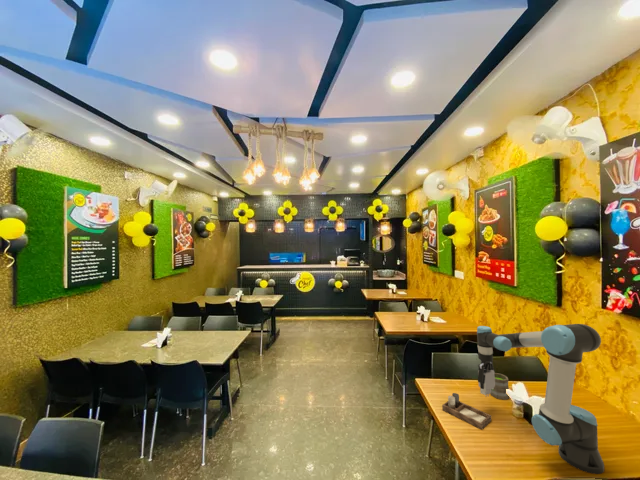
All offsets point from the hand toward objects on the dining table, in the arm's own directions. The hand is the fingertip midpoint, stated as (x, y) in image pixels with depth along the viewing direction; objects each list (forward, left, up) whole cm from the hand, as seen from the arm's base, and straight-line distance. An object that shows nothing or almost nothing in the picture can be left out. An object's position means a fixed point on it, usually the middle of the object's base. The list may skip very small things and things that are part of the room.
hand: (487, 391), depth 162 cm
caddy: (+6, +15, -11) cm, 19 cm away
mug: (+5, -25, -12) cm, 28 cm away
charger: (0, 0, -3) cm, 3 cm away
